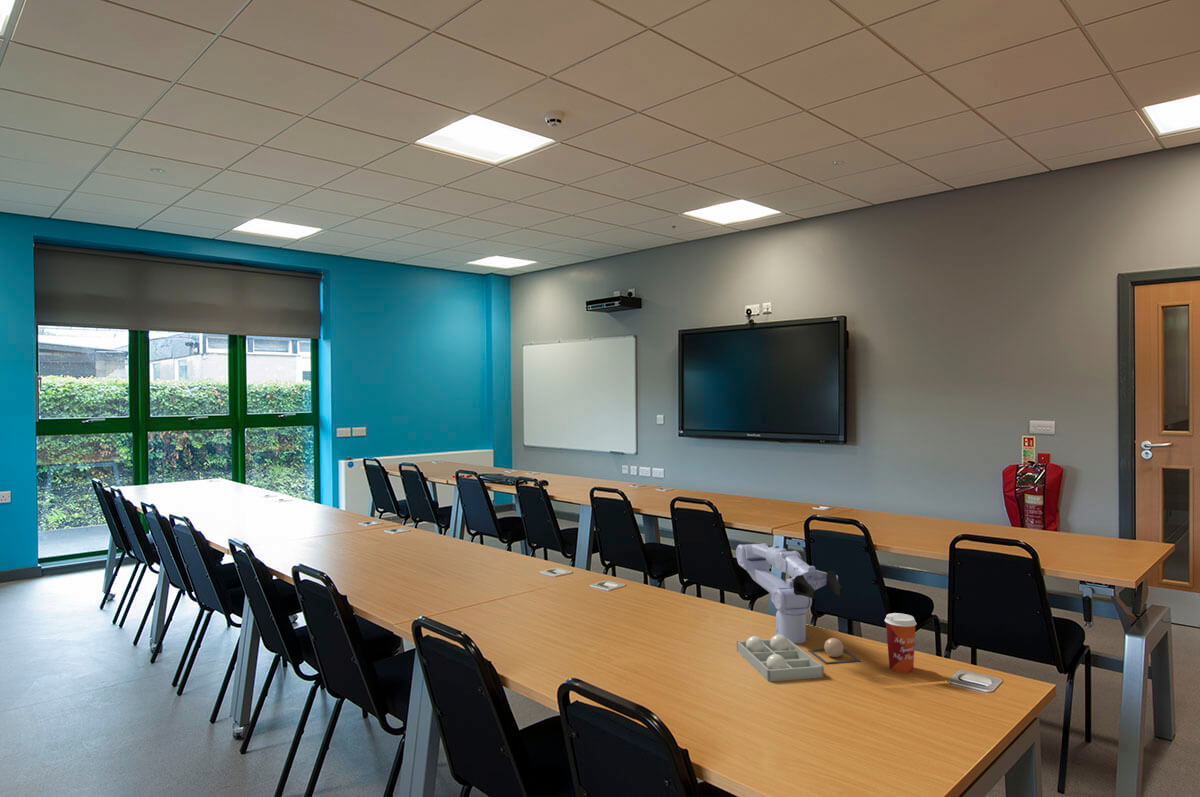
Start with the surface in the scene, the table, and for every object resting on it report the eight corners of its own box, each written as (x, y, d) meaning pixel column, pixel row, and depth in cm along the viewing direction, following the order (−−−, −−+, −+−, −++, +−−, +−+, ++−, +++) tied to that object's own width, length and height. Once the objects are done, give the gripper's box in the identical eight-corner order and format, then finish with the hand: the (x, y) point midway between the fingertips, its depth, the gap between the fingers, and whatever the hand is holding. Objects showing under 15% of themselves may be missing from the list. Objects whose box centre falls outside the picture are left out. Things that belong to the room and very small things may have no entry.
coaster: (808, 653, 194) (808, 649, 194) (841, 651, 196) (841, 647, 196) (825, 667, 184) (825, 662, 184) (860, 664, 186) (860, 660, 186)
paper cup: (898, 678, 177) (897, 622, 177) (878, 667, 184) (878, 613, 184) (924, 674, 179) (923, 619, 179) (904, 663, 186) (903, 611, 186)
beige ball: (821, 654, 192) (820, 636, 192) (838, 652, 193) (837, 634, 193) (829, 660, 187) (829, 642, 187) (847, 659, 188) (846, 640, 188)
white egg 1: (743, 652, 194) (743, 634, 194) (760, 650, 195) (760, 632, 195) (749, 658, 189) (749, 640, 189) (767, 657, 190) (767, 638, 190)
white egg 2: (767, 650, 195) (767, 632, 195) (784, 649, 196) (784, 631, 196) (774, 656, 190) (774, 638, 190) (792, 655, 191) (791, 637, 191)
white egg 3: (763, 671, 180) (762, 651, 180) (781, 669, 181) (781, 650, 181) (771, 678, 175) (770, 658, 175) (789, 677, 176) (789, 657, 176)
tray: (736, 653, 195) (736, 641, 195) (786, 650, 198) (786, 637, 198) (768, 684, 173) (768, 670, 173) (823, 680, 176) (823, 666, 176)
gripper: (779, 562, 196) (802, 582, 183) (826, 557, 199) (853, 576, 186) (779, 586, 197) (802, 607, 184) (825, 580, 200) (852, 601, 187)
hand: (827, 593), depth 185 cm, fingers open, 7 cm apart
